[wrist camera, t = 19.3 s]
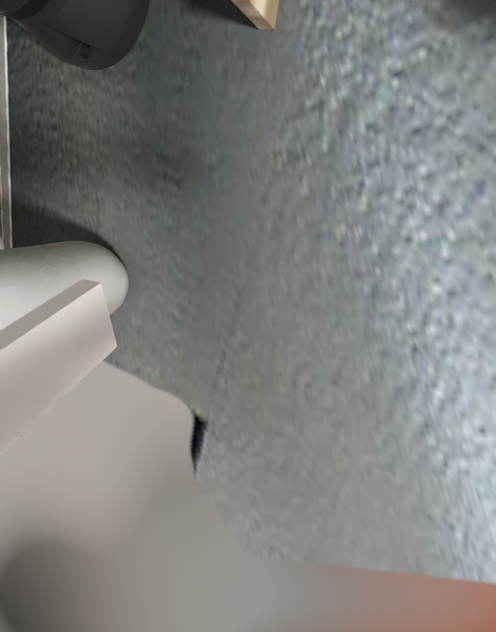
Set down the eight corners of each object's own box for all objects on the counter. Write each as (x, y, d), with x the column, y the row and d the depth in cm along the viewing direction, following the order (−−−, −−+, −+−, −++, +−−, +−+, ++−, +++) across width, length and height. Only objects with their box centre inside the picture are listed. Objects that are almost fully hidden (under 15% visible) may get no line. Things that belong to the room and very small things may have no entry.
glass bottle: (83, 298, 52) (-204, 392, 28) (84, 226, 48) (-250, 265, 24) (139, 321, 50) (-126, 449, 25) (146, 247, 45) (-162, 315, 21)
